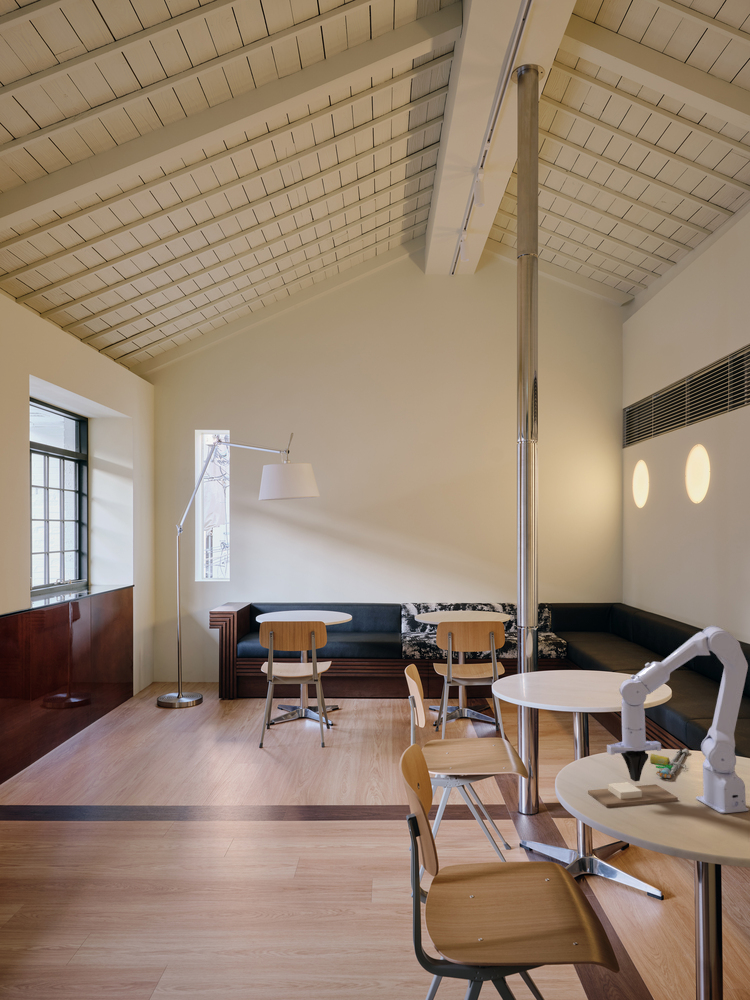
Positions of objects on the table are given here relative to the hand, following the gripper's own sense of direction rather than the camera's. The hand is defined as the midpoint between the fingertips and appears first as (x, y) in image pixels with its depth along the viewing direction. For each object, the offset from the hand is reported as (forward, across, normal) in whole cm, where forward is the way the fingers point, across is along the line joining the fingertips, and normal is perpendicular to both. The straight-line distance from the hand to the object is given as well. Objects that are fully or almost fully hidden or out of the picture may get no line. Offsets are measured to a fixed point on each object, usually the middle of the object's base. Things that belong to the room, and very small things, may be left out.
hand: (635, 779), depth 171 cm
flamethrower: (+5, -24, -19) cm, 31 cm away
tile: (+2, 0, 0) cm, 3 cm away
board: (+4, +1, 0) cm, 4 cm away
